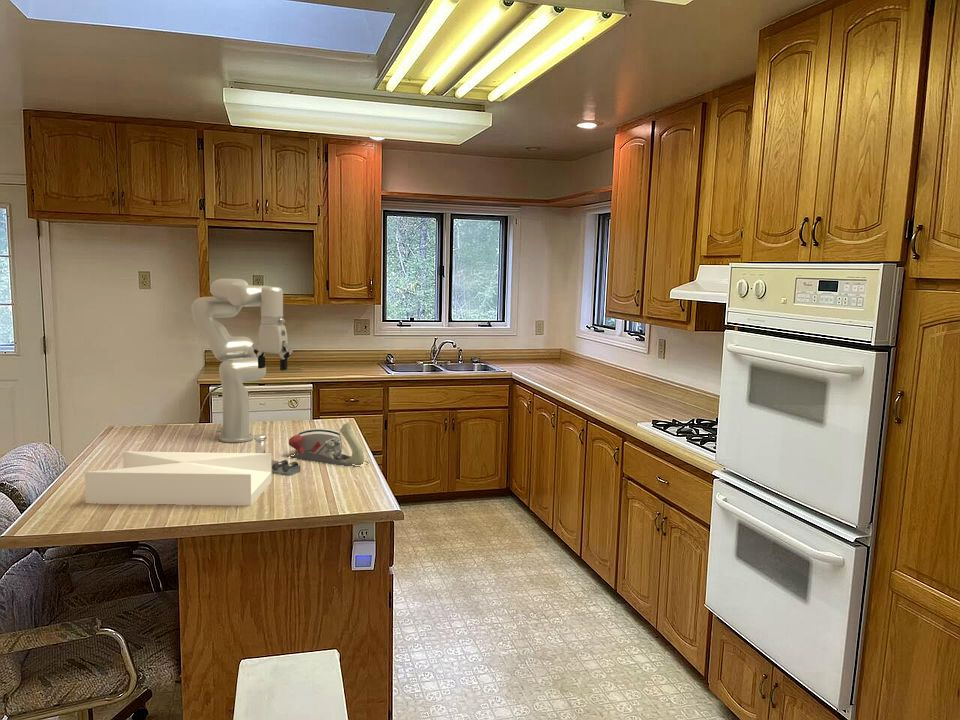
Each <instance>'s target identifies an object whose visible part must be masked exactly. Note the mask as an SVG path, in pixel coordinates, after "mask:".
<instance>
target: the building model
mask: <svg viewBox="0 0 960 720" xmlns="http://www.w3.org/2000/svg"><path fill="white" fill-rule="evenodd" d="M271 460H272V453H271V452H270V453H268V452H267V453H266V452H265V453H256V452H255V453H254V452H201V451H200V452H199V451H197V452H194V451H193V452H192V451H190V452H189V451H185V452H183V451H138V450H137V451H135V450H133V451H132V450H130V451H129V450H128V451H127V450H123V451H122V461H123V463H122V465H123V466H122V467H123V468H113V469H104V470H95V471H92V470H91V471H85V472H84V488H85V489H84V490H85V491H84V492H85V493H84V494H85V504H86V503H95V504H94V505H156V504H176V506H178V505H179V506H185V505H187V506H192V505H191V504H194V505H193V506H246V505H251V506H252V505H254V501H255V500H258V498H259V497H260V496H261V495H262V494H263V493H264V491H265V490H266V489H267V488H268V487H269V486H270V485H271V483H272V482H271V481H272V480H273V479H272V472H271ZM267 486H268V487H267ZM266 487H267V488H266ZM265 488H266V489H265ZM261 493H262V494H261ZM260 494H261V495H260ZM255 502H256V501H255ZM96 503H98V504H96Z"/></svg>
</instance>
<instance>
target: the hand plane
mask: <svg viewBox="0 0 960 720" xmlns="http://www.w3.org/2000/svg"><path fill="white" fill-rule="evenodd" d="M339 433H340V434H341V435H342V436H343V437H344V439H345V441H346V442H347V443H348V445H349V448H350V449H351V452H352V453H351V454H352V455H351V456H350V455H348V454H344V453H342V452H339V451H338V450H335V447H336V446H338V445H339V444H340V443H341V442H342V439H341V440H340V439H339V438H333V439H330V440H328V441H325V442H324V443H323V444H321V442H320V441H318V442H317V443H316V444H315V445H314V446H313V447H312V448H311V450H308V451H304V449H303V447H302V445H303V437H302V436H300V435H298V434H295V435H293V436H291V437H290V438H289V439H288V445H289V447H291V448H293V449H295V451H296V450H297V451H298V452H295V453H292V454H290V455H288V456H287V457H289V456H290V457H291V458H290V459H293V458H297V459H296V460H300V459H302V461H306V460H309V461H308V462H313V461H315V463H320V462H322V464H327V463H328V465H334V464H336V465H335V466H341V465H344V466H343V467H348V466H353V467H352V468H355V467H360V466H355V465H361V464H363V462H364V461H365V462H368V461H367V460H365V454H364V450H363V447H362V445H361V443H360V442H359V440H358V438H357V437H356V436H355V434H354V432H353V430H352V426H351V421H347V422H346V423H344V424H343V425H342V427H341V428H340V429H339ZM297 453H298V454H297ZM294 454H295V455H294ZM291 455H294V456H291ZM352 464H355V465H352ZM360 468H361V467H360Z"/></svg>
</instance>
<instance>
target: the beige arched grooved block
mask: <svg viewBox="0 0 960 720" xmlns="http://www.w3.org/2000/svg"><path fill="white" fill-rule="evenodd" d="M297 435H300V436H302V437H303V445H302V447H303V449H304V451H308V450H311V448H312V447H313V446H314V445H315V444H316V443H317V442H318V441H320V442H321V444H323V443H324V442H325V441H328V440H330V439H333V438H339V439H340V440H341V443H340V444H339V445H338V446H336V447H335V450H338V451H339V452H340V453H343V443H342V437H341V432H340V431H338V430H334V429H330V428H322V427H316V428H314V427H313V428H308V429H303V430H301V431H299V432H298V434H297ZM295 453H298V451H297V450H296V449H295Z"/></svg>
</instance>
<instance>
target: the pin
mask: <svg viewBox="0 0 960 720" xmlns="http://www.w3.org/2000/svg"><path fill="white" fill-rule="evenodd" d="M267 439H268V436H267V434H262V433H261V434H260V433H259V434H255V435H254V434H253V440H255V453H266V440H267Z"/></svg>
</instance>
